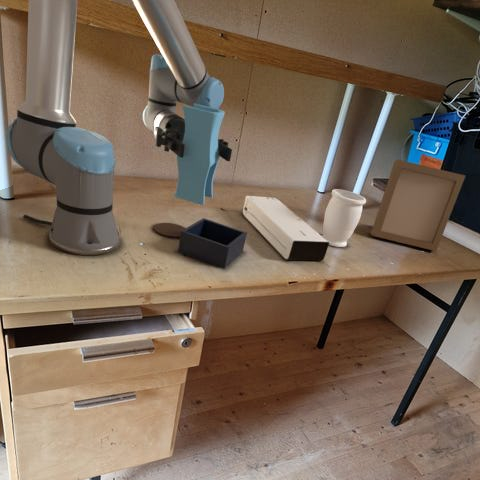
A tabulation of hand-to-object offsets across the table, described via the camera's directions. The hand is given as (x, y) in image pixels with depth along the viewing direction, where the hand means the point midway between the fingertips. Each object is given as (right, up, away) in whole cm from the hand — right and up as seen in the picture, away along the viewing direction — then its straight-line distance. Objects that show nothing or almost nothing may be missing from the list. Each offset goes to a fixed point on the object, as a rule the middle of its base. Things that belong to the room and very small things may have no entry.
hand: (206, 153), depth 93 cm
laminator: (+19, -13, +30) cm, 38 cm away
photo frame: (+64, -9, +53) cm, 83 cm away
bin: (0, -20, +12) cm, 24 cm away
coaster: (-11, -14, +18) cm, 25 cm away
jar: (+37, -13, +36) cm, 53 cm away
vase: (-4, -7, +9) cm, 12 cm away
